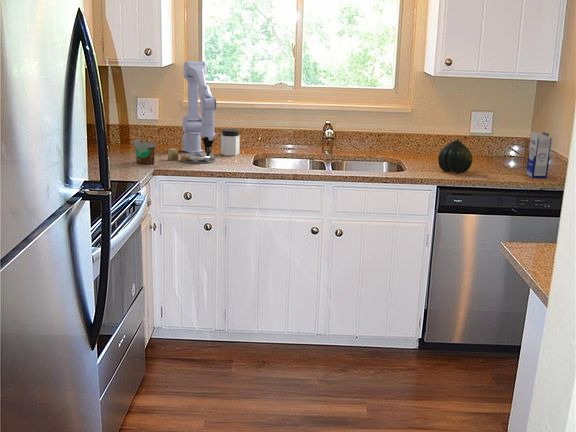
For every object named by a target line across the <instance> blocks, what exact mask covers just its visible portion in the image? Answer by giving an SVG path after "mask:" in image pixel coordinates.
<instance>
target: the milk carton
mask: <svg viewBox="0 0 576 432" xmlns="http://www.w3.org/2000/svg"><path fill="white" fill-rule="evenodd" d="M529 140H530V142H529V148H528V157H527V164H526V171H525V175H526V176H527V177H530V178H532V179H547V178H548V172H549V165H550V157H551V150H552V143H553V137H551V136H550V133H548V132H545V131H542V133H539V132H537V131H533V130H531V134H530V139H529Z"/></svg>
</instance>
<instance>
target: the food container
mask: <svg viewBox="0 0 576 432" xmlns="http://www.w3.org/2000/svg"><path fill="white" fill-rule="evenodd" d="M133 146H134V150H135V157H136V159H135V160H136V164H137V165H143V166H144V165H145V166H147V165H148V166H151V165H152V166H153V165H155V154H156V153H155V151H156V150H155V149H156V146H157V145H156V142H148V141H141V139H140V138H139V139H135V140H134V141H133Z"/></svg>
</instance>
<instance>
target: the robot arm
mask: <svg viewBox="0 0 576 432" xmlns="http://www.w3.org/2000/svg"><path fill="white" fill-rule="evenodd" d="M206 73H207V64H206V62H205V61H204V60H203V61H187V60H185V61H184V63H183V79H186V82H187V107H188V108H187V109H188V111H187V112H188V113H187V114H186V115H184V116H183V118H182V124H181V125H182V131H183V132H184V133H183V135H182V139H181V140H182V148H181V151H184V152H186V153H198V152H201V153H205V154H207V147H211V150H212V149H213V148H212V147H213V144H214V141H215V136H218V133H216V132H215V111H216V109H217V100H216V98H215V96H214V95H213V94H212V92H211V88H210V86H209V85H208V84H207V82H206ZM199 99H200V100H199ZM199 107H200V114H199ZM201 136H203V137H201ZM202 142H203V146H204V150H203V149H202V148H201V147H202Z"/></svg>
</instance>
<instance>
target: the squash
mask: <svg viewBox="0 0 576 432" xmlns="http://www.w3.org/2000/svg"><path fill="white" fill-rule="evenodd" d="M437 162H438V166H439V168H440V169H441V170H442V171H443V172H451V171H452V172H454V173H455V174H457V175H459V174H461V173H463V174H464V173H466V172H467V171H468V170H470V168H471V166H472V163H473V154H472V151H470V149H469V148H468V147H467V146H466V145H465V144H463V142H462V141H461V140H459V139H456V140H453V141H451V142H450V143H448V144H446V145H445V146H444V147H443V148H441V150H440V152H439V154H438V158H437Z"/></svg>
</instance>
